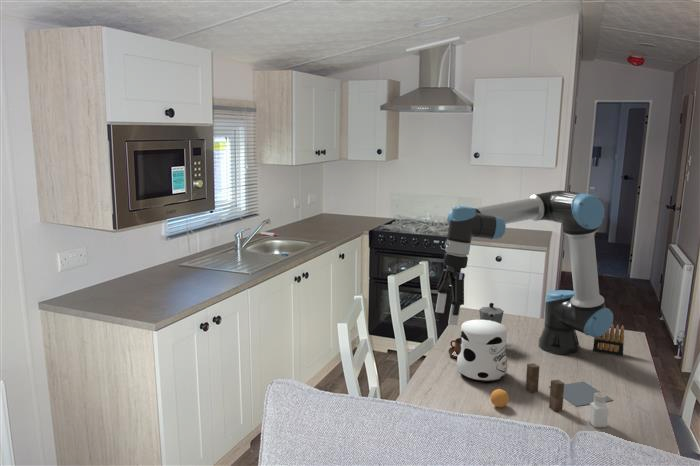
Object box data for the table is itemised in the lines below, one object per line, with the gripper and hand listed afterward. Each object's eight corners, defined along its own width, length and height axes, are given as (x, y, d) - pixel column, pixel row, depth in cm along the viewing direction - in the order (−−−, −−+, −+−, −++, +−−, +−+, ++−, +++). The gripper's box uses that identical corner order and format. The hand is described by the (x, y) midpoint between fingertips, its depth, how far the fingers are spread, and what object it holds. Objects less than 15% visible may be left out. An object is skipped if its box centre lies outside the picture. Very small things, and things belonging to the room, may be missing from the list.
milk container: (514, 385, 191) (516, 335, 188) (464, 386, 190) (466, 336, 187) (497, 364, 208) (499, 317, 205) (451, 365, 207) (453, 319, 204)
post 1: (532, 388, 189) (534, 363, 187) (537, 391, 186) (539, 366, 185) (525, 389, 188) (527, 364, 187) (530, 393, 186) (532, 367, 184)
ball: (502, 401, 180) (503, 385, 179) (511, 409, 175) (512, 392, 174) (487, 403, 179) (487, 387, 178) (496, 411, 174) (496, 395, 173)
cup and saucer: (445, 360, 213) (446, 344, 211) (451, 348, 224) (452, 333, 222) (477, 364, 208) (478, 349, 207) (482, 352, 219) (482, 337, 218)
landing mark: (583, 381, 194) (583, 381, 194) (613, 400, 180) (613, 400, 180) (548, 387, 190) (548, 386, 190) (575, 406, 177) (576, 406, 177)
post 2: (556, 406, 177) (558, 379, 175) (562, 410, 174) (564, 383, 173) (549, 407, 176) (550, 380, 175) (554, 411, 174) (556, 384, 172)
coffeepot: (502, 353, 218) (504, 309, 215) (477, 351, 220) (479, 307, 217) (501, 339, 233) (503, 297, 230) (477, 337, 235) (479, 295, 232)
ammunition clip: (622, 354, 217) (625, 324, 215) (622, 355, 216) (625, 326, 213) (592, 349, 222) (595, 320, 219) (592, 351, 220) (595, 322, 218)
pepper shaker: (600, 421, 168) (603, 391, 166) (607, 428, 164) (610, 397, 162) (587, 421, 168) (590, 391, 166) (593, 428, 164) (596, 398, 162)
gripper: (433, 246, 191) (424, 306, 194) (458, 260, 167) (446, 329, 169) (454, 248, 192) (444, 308, 195) (482, 263, 168) (470, 331, 170)
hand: (445, 318), depth 182 cm, fingers open, 13 cm apart
